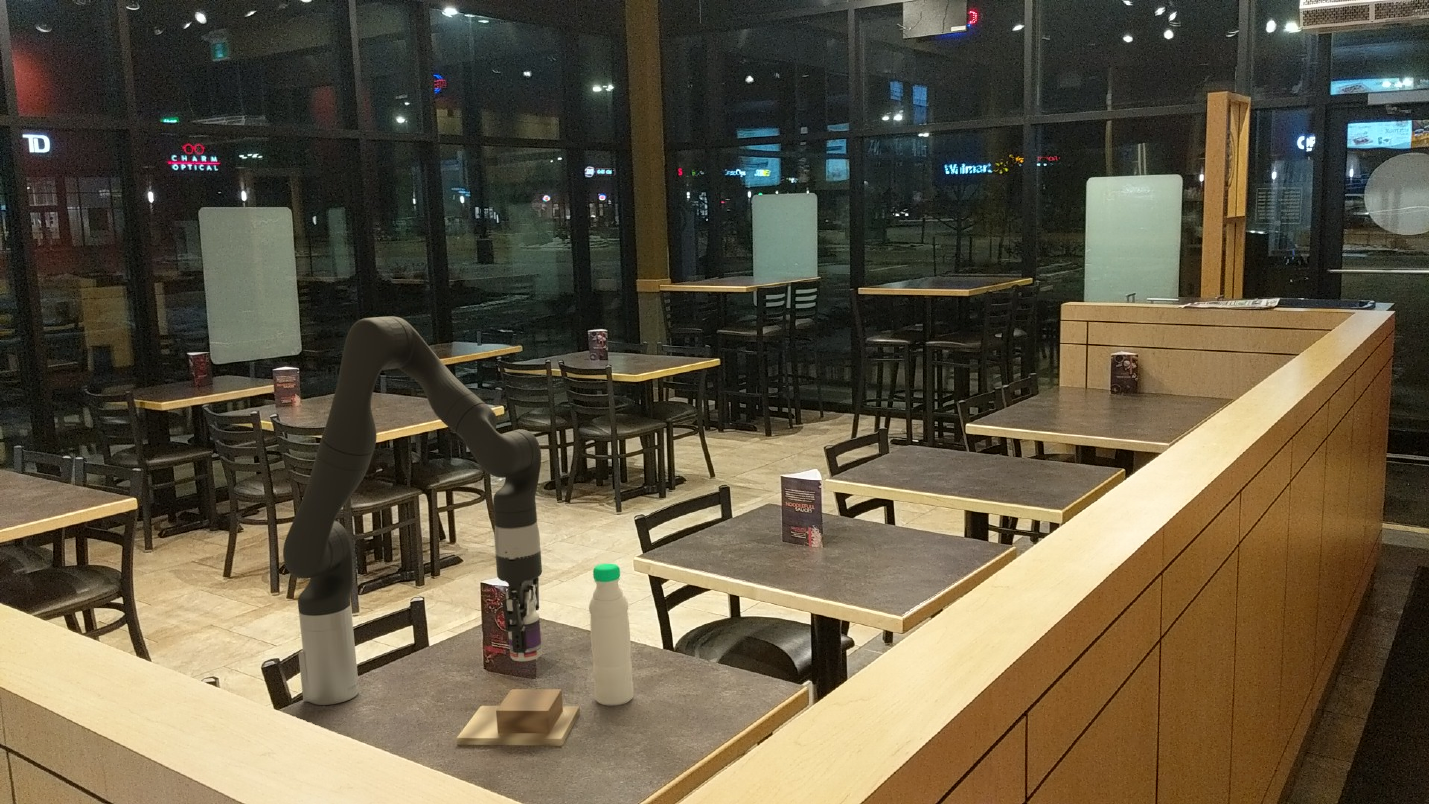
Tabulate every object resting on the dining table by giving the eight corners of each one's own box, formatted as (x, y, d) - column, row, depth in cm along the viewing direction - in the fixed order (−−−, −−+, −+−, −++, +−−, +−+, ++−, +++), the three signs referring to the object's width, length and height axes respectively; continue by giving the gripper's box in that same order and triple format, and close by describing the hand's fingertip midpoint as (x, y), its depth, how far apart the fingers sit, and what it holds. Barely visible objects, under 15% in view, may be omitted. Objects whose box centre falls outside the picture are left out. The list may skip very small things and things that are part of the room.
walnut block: (497, 733, 195) (495, 710, 194) (513, 710, 203) (511, 689, 203) (549, 733, 193) (548, 710, 193) (562, 711, 202) (561, 689, 202)
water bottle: (587, 703, 208) (578, 569, 204) (608, 689, 214) (600, 558, 210) (620, 709, 205) (612, 573, 201) (641, 694, 211) (633, 562, 207)
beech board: (457, 744, 194) (456, 737, 193) (481, 712, 206) (480, 705, 206) (561, 745, 191) (561, 738, 191) (579, 712, 204) (579, 706, 204)
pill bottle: (545, 650, 199) (541, 596, 198) (537, 662, 194) (533, 606, 192) (514, 650, 200) (510, 596, 198) (506, 662, 194) (502, 606, 193)
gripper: (508, 538, 201) (515, 630, 204) (482, 562, 187) (490, 661, 190) (550, 537, 200) (557, 630, 203) (527, 561, 186) (535, 661, 189)
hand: (524, 645), depth 196 cm, fingers closed on pill bottle, 5 cm apart
